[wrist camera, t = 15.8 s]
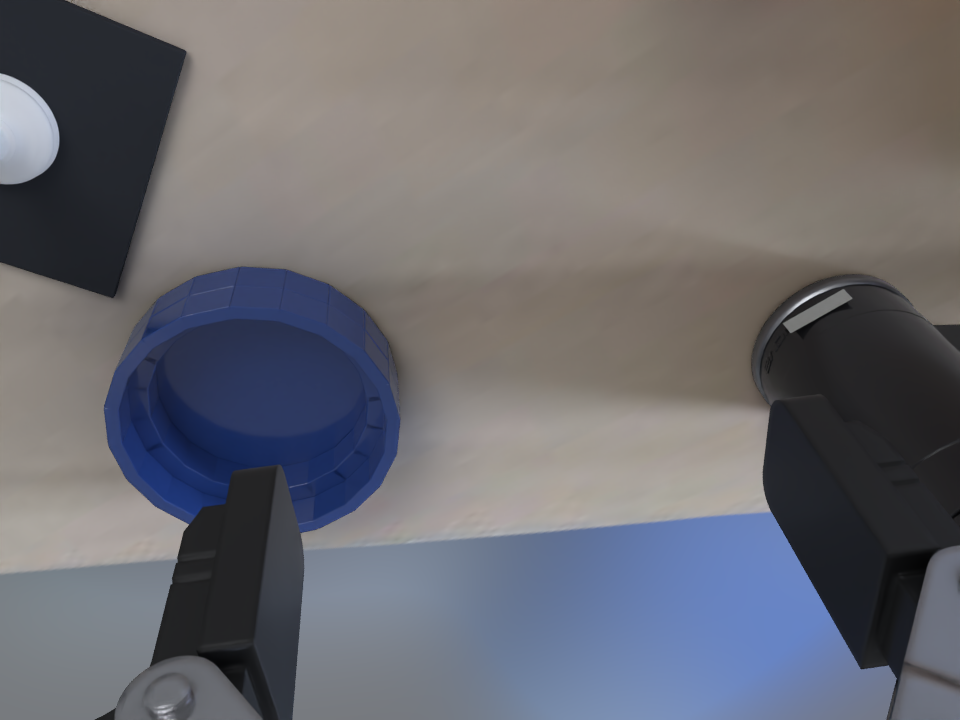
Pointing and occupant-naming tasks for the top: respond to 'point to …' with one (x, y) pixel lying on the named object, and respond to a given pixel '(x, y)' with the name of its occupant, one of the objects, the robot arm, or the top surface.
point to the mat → (84, 138)
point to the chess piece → (24, 132)
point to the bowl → (255, 395)
